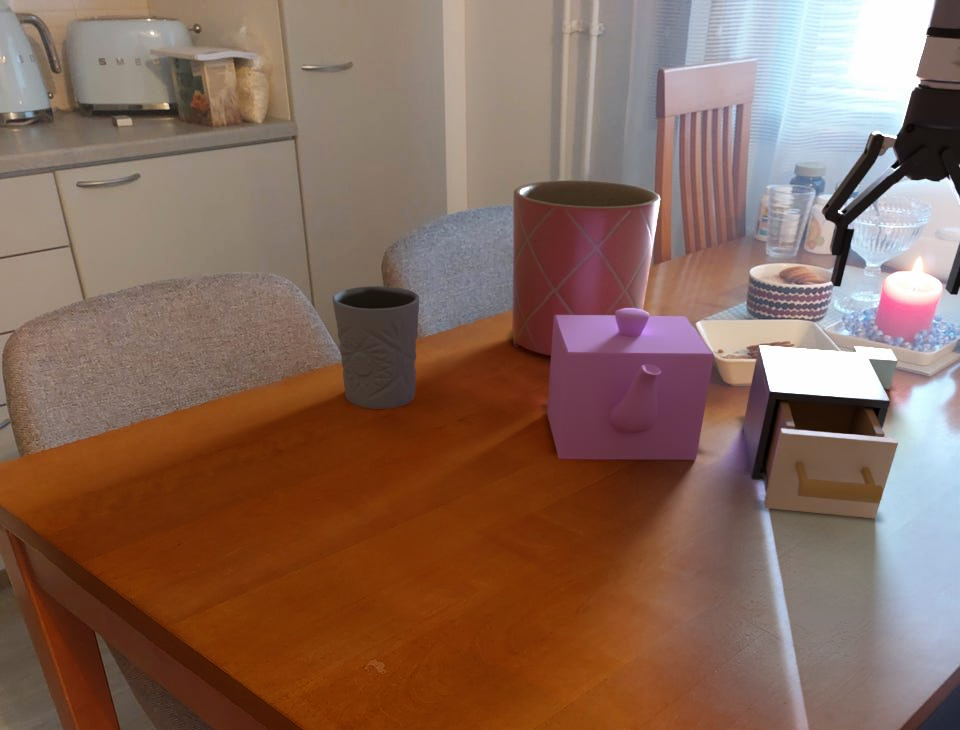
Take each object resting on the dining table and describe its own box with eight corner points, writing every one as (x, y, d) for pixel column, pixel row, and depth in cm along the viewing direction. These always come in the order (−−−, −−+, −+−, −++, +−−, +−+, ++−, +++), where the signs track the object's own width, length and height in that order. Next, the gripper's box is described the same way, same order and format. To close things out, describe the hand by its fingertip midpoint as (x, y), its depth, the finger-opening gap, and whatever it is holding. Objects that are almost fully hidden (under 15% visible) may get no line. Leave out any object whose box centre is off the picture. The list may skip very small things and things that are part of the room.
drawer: (886, 548, 84) (911, 470, 80) (769, 536, 86) (788, 458, 81) (853, 460, 100) (872, 390, 95) (755, 452, 101) (769, 382, 97)
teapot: (566, 488, 95) (577, 353, 87) (543, 398, 115) (551, 281, 107) (711, 489, 95) (736, 354, 87) (663, 399, 116) (680, 283, 107)
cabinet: (864, 489, 96) (890, 401, 91) (751, 479, 98) (769, 391, 92) (843, 434, 108) (865, 353, 102) (742, 426, 109) (758, 345, 104)
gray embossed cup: (353, 415, 109) (347, 312, 102) (328, 386, 117) (321, 288, 110) (433, 404, 113) (432, 303, 106) (404, 377, 120) (401, 281, 113)
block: (881, 383, 122) (891, 349, 120) (887, 396, 119) (897, 360, 116) (845, 380, 123) (854, 346, 120) (850, 393, 119) (860, 357, 116)
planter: (480, 345, 131) (483, 191, 119) (561, 317, 143) (571, 175, 131) (589, 379, 121) (604, 214, 109) (666, 345, 133) (688, 194, 121)
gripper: (836, 82, 98) (791, 288, 111) (1084, 94, 96) (1009, 303, 108) (826, 76, 104) (784, 272, 117) (1059, 87, 102) (991, 286, 114)
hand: (892, 288), depth 112 cm, fingers open, 13 cm apart
